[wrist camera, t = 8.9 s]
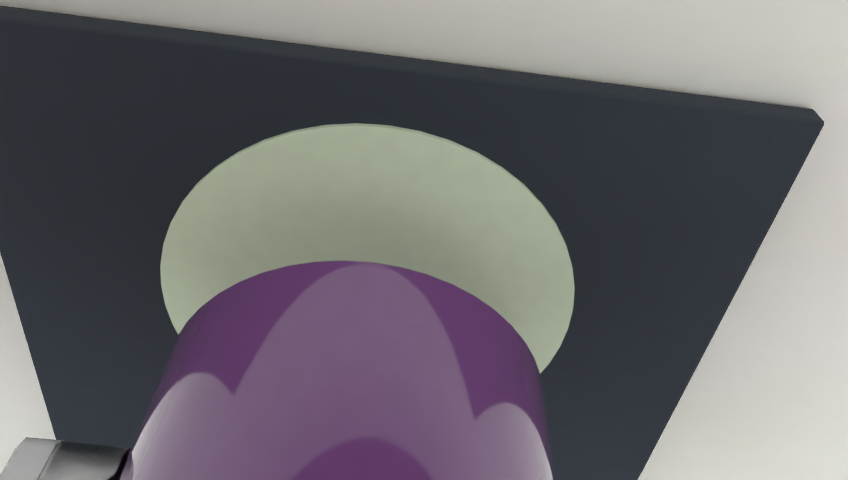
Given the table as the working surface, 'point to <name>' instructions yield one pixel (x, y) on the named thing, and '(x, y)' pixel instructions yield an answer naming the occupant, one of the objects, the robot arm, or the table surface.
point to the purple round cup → (345, 384)
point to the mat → (373, 209)
